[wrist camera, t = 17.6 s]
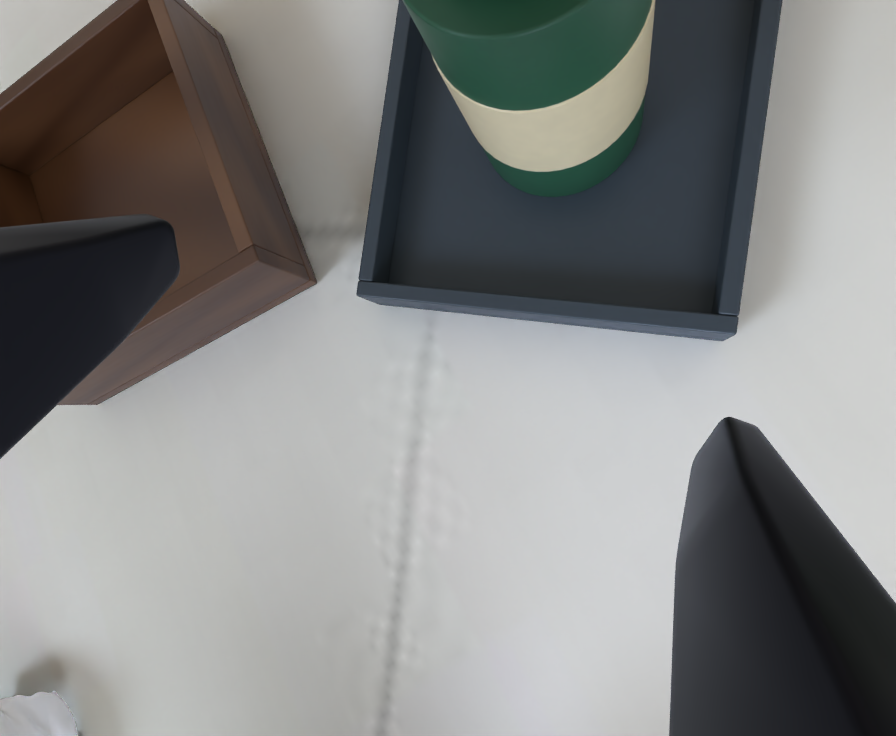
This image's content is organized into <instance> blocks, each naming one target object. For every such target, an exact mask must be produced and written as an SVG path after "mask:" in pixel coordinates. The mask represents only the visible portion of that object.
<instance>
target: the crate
mask: <svg viewBox="0 0 896 736" xmlns="http://www.w3.org/2000/svg"><path fill="white" fill-rule="evenodd" d="M135 214H149V215H152V216H155V217H158V218H160V219H163V220H166V221H168V222H169V223H170V224H171V225H172V227H173V229H174V232H175V238H176V244H177V250H178V256H179V262H180V272H179V275H178V277H177V279H176V281H175V282H174V283H173V284H172V285H171V287H170V288H169V289H168V290H167V291H166V292H165V294H164V295H163V296H162V297H161V298H160V299H159V301H158V302H157V303H156V304H155V305H154V306H153V308H152V309H151V310H150V311H149V312H148V313H147V315H146V316H145V317H144V318H143V319H142V320H141V322H140V323H139V324H138V325H137V326H136V328H135V329H134V330H133V331H132V332H131V333H130V334H129V336H128V337H127V338H126V339H125V340H124V341H123V342H122V343H121V344H120V345H119V346H118V347H117V348H116V349H115V350H114V351H113V352H112V353H111V354H110V355H109V356H108V357H107V358H106V359H105V360H104V361H103V362H102V363H101V364H100V365H99V366H97V367H96V368H95V369H94V370H93V371H92V372H91V373H90V374H89V375H88V376H87V377H86V378H85V379H84V380H83V381H82V382H81V383H80V384H79V385H77V386H76V387H75V388H74V389H73V390H72V391H71V392H70V393H69V394H68V395H67V396H66V397H65V398H64V399H63V400H62V401H61V402H60V403H59V404H57V405H86V404H87V405H97V404H99V403H101V402H103V401H105V400H107V399H108V398H110V397H112V396H114V395H116V394H117V393H119V392H121V391H123V390H125V389H126V388H128V387H130V386H132V385H134V384H136V383H137V382H139V381H141V380H143V379H145V378H146V377H148V376H150V375H152V374H154V373H155V372H157V371H159V370H161V369H163V368H164V367H166V366H168V365H170V364H172V363H173V362H175V361H177V360H179V359H181V358H183V357H184V356H186V355H188V354H190V353H192V352H193V351H195V350H197V349H199V348H201V347H202V346H204V345H206V344H208V343H210V342H211V341H213V340H215V339H217V338H219V337H221V336H222V335H224V334H226V333H228V332H230V331H231V330H233V329H235V328H237V327H239V326H240V325H242V324H244V323H246V322H248V321H249V320H251V319H253V318H255V317H257V316H259V315H260V314H262V313H264V312H266V311H268V310H269V309H271V308H273V307H275V306H277V305H278V304H280V303H282V302H284V301H286V300H287V299H289V298H291V297H293V296H295V295H297V294H298V293H300V292H302V291H304V290H306V289H307V288H309V287H311V286H313V285H315V284H316V283H317V281H316V278H315V276H314V273H313V271H312V268H311V265H310V263H309V260H308V258H307V255H306V252H305V250H304V247H303V245H302V242H301V239H300V237H299V234H298V232H297V229H296V226H295V224H294V221H293V219H292V216H291V213H290V211H289V208H288V206H287V203H286V200H285V198H284V195H283V193H282V190H281V187H280V185H279V182H278V180H277V177H276V175H275V172H274V169H273V167H272V164H271V162H270V159H269V156H268V154H267V151H266V149H265V146H264V143H263V141H262V138H261V136H260V133H259V130H258V128H257V125H256V123H255V120H254V117H253V115H252V112H251V110H250V107H249V104H248V102H247V99H246V97H245V94H244V91H243V89H242V86H241V84H240V81H239V78H238V76H237V73H236V71H235V68H234V65H233V63H232V60H231V58H230V55H229V52H228V50H227V47H226V45H225V42H224V39H223V37H222V35H221V34H220V33H219V32H218V31H217V30H216V29H215V28H213V27H212V26H211V25H210V24H209V23H208V22H207V21H206V20H205V19H203V18H202V17H201V16H200V15H199V14H198V13H197V12H196V11H195V10H194V9H193V8H191V7H190V6H189V5H188V4H187V3H186V2H185V1H184V0H117V1H116V2H115V3H113V4H112V5H111V6H110V7H108V8H107V9H106V10H105V11H103V12H102V13H101V14H100V15H98V16H97V17H96V18H95V19H93V20H92V21H91V22H90V23H88V24H87V25H86V26H85V27H83V28H82V29H81V30H80V31H78V32H77V33H76V34H75V35H73V36H72V37H71V38H70V39H68V40H67V41H66V42H65V43H63V44H62V45H61V46H60V47H58V48H57V49H56V50H55V51H53V52H52V53H51V54H50V55H48V56H47V57H46V58H45V59H43V60H42V61H41V62H40V63H38V64H37V65H36V66H35V67H33V68H32V69H31V70H30V71H28V72H27V73H26V74H25V75H23V76H22V77H21V78H20V79H18V80H17V81H16V82H15V83H13V84H12V85H11V86H10V87H8V88H7V89H6V90H5V91H3V92H2V93H1V94H0V227H10V226H21V225H31V224H41V223H52V222H62V221H73V220H83V219H93V218H104V217H114V216H125V215H135Z"/></svg>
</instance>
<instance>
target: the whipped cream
mask: <svg viewBox="0 0 896 736" xmlns="http://www.w3.org/2000/svg"><path fill="white" fill-rule="evenodd" d="M0 736H79V735H78V733H77V730H76V722H75V719H74V716H73V714H72V713H71V711H70V709H69V707H68V705H67V704H66V703H65V701H64V700H63V699H62V698H61V697H60V696H59V695H58V694H57V693H56V692H55V691H53V692H51V693H46V692H37V693H35V694H34V695H32V696H23V695H16V696H14V697H7V698H2V699H0Z"/></svg>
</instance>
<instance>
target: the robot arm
mask: <svg viewBox="0 0 896 736" xmlns="http://www.w3.org/2000/svg"><path fill="white" fill-rule="evenodd" d="M179 272H180V262H179V256H178V250H177V244H176V238H175V232H174V229H173V227H172V225H171V224H170V223H169V222H168V221H166V220H163V219H160V218H158V217H155V216H152V215H149V214H135V215H125V216H114V217H104V218H93V219H83V220H73V221H62V222H52V223H41V224H31V225H21V226H10V227H0V459H1V458H2V457H3V456H4V455H5V454H6V453H7V452H8V451H9V450H10V449H11V448H12V447H13V446H14V445H15V444H16V443H17V442H18V441H20V440H21V439H22V438H23V437H24V436H25V435H26V434H27V433H28V432H29V431H30V430H31V429H32V428H33V427H34V426H35V425H36V424H37V423H38V422H40V421H41V420H42V419H43V418H44V417H45V416H46V415H47V414H48V413H49V412H50V411H51V410H52V409H53V408H54V407H55V406H56V405H57V404H59V403H60V402H61V401H62V400H63V399H64V398H65V397H66V396H67V395H68V394H69V393H70V392H71V391H72V390H73V389H74V388H75V387H76V386H77V385H79V384H80V383H81V382H82V381H83V380H84V379H85V378H86V377H87V376H88V375H89V374H90V373H91V372H92V371H93V370H94V369H95V368H96V367H97V366H99V365H100V364H101V363H102V362H103V361H104V360H105V359H106V358H107V357H108V356H109V355H110V354H111V353H112V352H113V351H114V350H115V349H116V348H117V347H118V346H119V345H120V344H121V343H122V342H123V341H124V340H125V339H126V338H127V337H128V336H129V334H130V333H131V332H132V331H133V330H134V329H135V328H136V326H137V325H138V324H139V323H140V322H141V320H142V319H143V318H144V317H145V316H146V315H147V313H148V312H149V311H150V310H151V309H152V308H153V306H154V305H155V304H156V303H157V302H158V301H159V299H160V298H161V297H162V296H163V295H164V294H165V292H166V291H167V290H168V289H169V288H170V287H171V285H172V284H173V283H174V282H175V281H176V279H177V277H178V275H179ZM669 736H896V603H895V602H894V600H893V599H892V598H891V597H890V595H889V594H888V593H887V591H886V590H885V589H884V588H883V586H882V585H881V584H880V583H879V581H878V580H877V579H876V577H875V576H874V575H873V574H872V572H871V571H870V570H869V569H868V567H867V566H866V565H865V563H864V562H863V561H862V560H861V558H860V557H859V556H858V554H857V553H856V552H855V551H854V549H853V548H852V547H851V546H850V544H849V543H848V542H847V540H846V539H845V538H844V537H843V535H842V534H841V533H840V532H839V530H838V529H837V528H836V526H835V525H834V524H833V523H832V521H831V520H830V519H829V517H828V516H827V515H826V514H825V512H824V511H823V510H822V509H821V507H820V506H819V505H818V503H817V502H816V501H815V500H814V498H813V497H812V496H811V495H810V493H809V492H808V491H807V489H806V488H805V487H804V486H803V484H802V483H801V482H800V480H799V479H798V478H797V477H796V475H795V474H794V473H793V472H792V470H791V469H790V468H789V466H788V465H787V464H786V463H785V461H784V460H783V459H782V458H781V456H780V455H779V454H778V452H777V451H776V450H775V449H774V447H773V446H772V445H771V443H770V442H769V441H768V440H767V438H766V437H765V436H764V435H763V433H762V432H761V431H760V430H759V428H758V427H756V426H755V425H752V424H749V423H746V422H744V421H741V420H738V419H735V418H732V417H726V418H724V419H723V420H721V421H720V422H719V423H718V425H717V426H716V428H715V429H714V430H713V432H712V433H711V435H710V436H709V437H708V439H707V440H706V442H705V443H704V445H703V446H702V447H701V449H700V450H699V452H698V453H697V455H696V457H695V459H694V461H693V464H692V468H691V473H690V479H689V485H688V491H687V497H686V502H685V508H684V514H683V520H682V526H681V532H680V538H679V544H678V551H677V558H676V570H675V592H674V619H673V647H672V675H671V703H670V730H669Z"/></svg>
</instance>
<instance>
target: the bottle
mask: <svg viewBox="0 0 896 736" xmlns="http://www.w3.org/2000/svg"><path fill="white" fill-rule="evenodd" d="M402 1H403V3H404V4H405V6H406V8H407V10H408V12H409V14H410V15H411V17H412V19H413V21H414V23H415V25H416V27H417V28H418V30H419V32H420V34H421V36H422V38H423V39H424V41H425V43H426V45H427V47H428V49H429V50H430V52H431V54H432V58H433V60H434V62H435V65H436V67H437V69H438V71H439V73H440V75H441V76H442V78H443V80H444V82H445V84H446V85H447V87H448V89H449V91H450V93H451V94H452V96H453V98H454V100H455V102H456V104H457V105H458V107H459V109H460V111H461V113H462V114H463V116H464V118H465V120H466V122H467V124H468V125H469V127H470V129H471V131H472V133H473V134H474V136H475V137H476V139H477V141H478V142H479V143H480V145H481V146H482V148H483V150H484V152H485V153H486V155H487V157H488V159H489V161H490V163H491V164H492V166H493V167H494V169H495V170H496V172H497V173H498V174H499V175H500V176H501V177H502V178H503V179H504V180H505V181H506V182H508V183H509V184H510V185H512V186H513V187H515V188H517V189H519V190H521V191H523V192H526V193H529V194H532V195H536V196H544V197H560V196H568V195H572V194H576V193H579V192H582V191H584V190H587V189H589V188H591V187H593V186H595V185H597V184H599V183H600V182H601V181H603V180H604V179H606V178H607V177H609V176H610V175H611V174H612V173H613V172H614V171H615V170H617V168H618V167H619V166H620V165H621V164H622V163H623V162H624V161H625V159H626V158H627V156H628V155H629V154H630V152H631V150H632V149H633V147H634V145H635V143H636V141H637V138H638V136H639V133H640V130H641V126H642V122H643V113H644V102H645V92H646V87H647V83H648V75H649V65H650V54H651V43H652V33H653V22H654V11H655V0H402Z"/></svg>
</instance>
